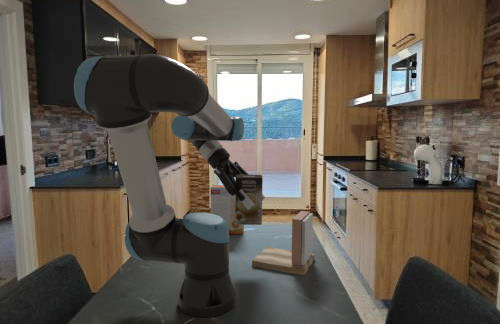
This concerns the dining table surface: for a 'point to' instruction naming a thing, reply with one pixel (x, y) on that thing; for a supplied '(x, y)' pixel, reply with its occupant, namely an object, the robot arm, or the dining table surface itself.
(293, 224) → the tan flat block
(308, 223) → the bookend
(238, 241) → the dining table surface
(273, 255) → the shelf board
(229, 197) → the cracker box
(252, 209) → the coffee box
